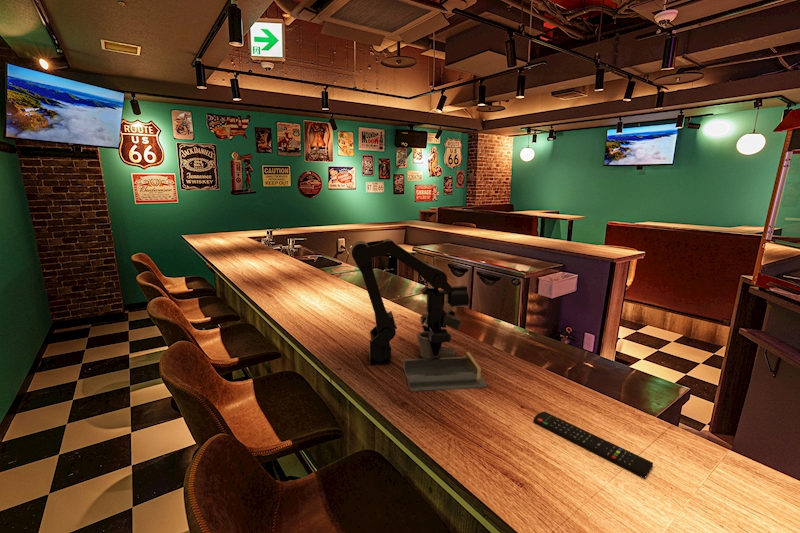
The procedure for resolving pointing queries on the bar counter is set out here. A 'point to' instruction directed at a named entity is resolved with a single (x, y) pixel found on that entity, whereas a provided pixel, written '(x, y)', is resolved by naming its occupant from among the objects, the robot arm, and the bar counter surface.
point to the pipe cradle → (443, 373)
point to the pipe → (427, 351)
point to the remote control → (595, 444)
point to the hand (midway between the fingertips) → (433, 351)
